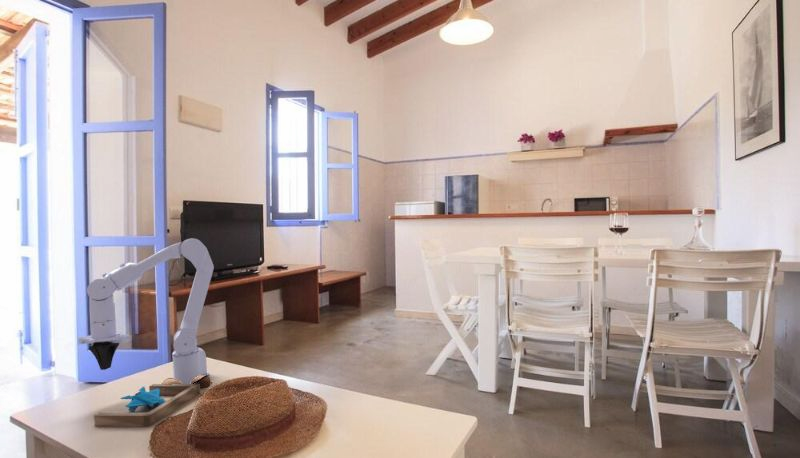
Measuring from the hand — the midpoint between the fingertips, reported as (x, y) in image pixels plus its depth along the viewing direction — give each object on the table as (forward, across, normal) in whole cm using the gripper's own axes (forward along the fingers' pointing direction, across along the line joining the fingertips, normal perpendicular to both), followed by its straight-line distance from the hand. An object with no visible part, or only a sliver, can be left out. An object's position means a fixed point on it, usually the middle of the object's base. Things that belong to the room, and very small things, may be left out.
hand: (105, 368), depth 111 cm
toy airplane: (+9, +18, -6) cm, 21 cm away
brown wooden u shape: (+8, +18, -6) cm, 21 cm away
